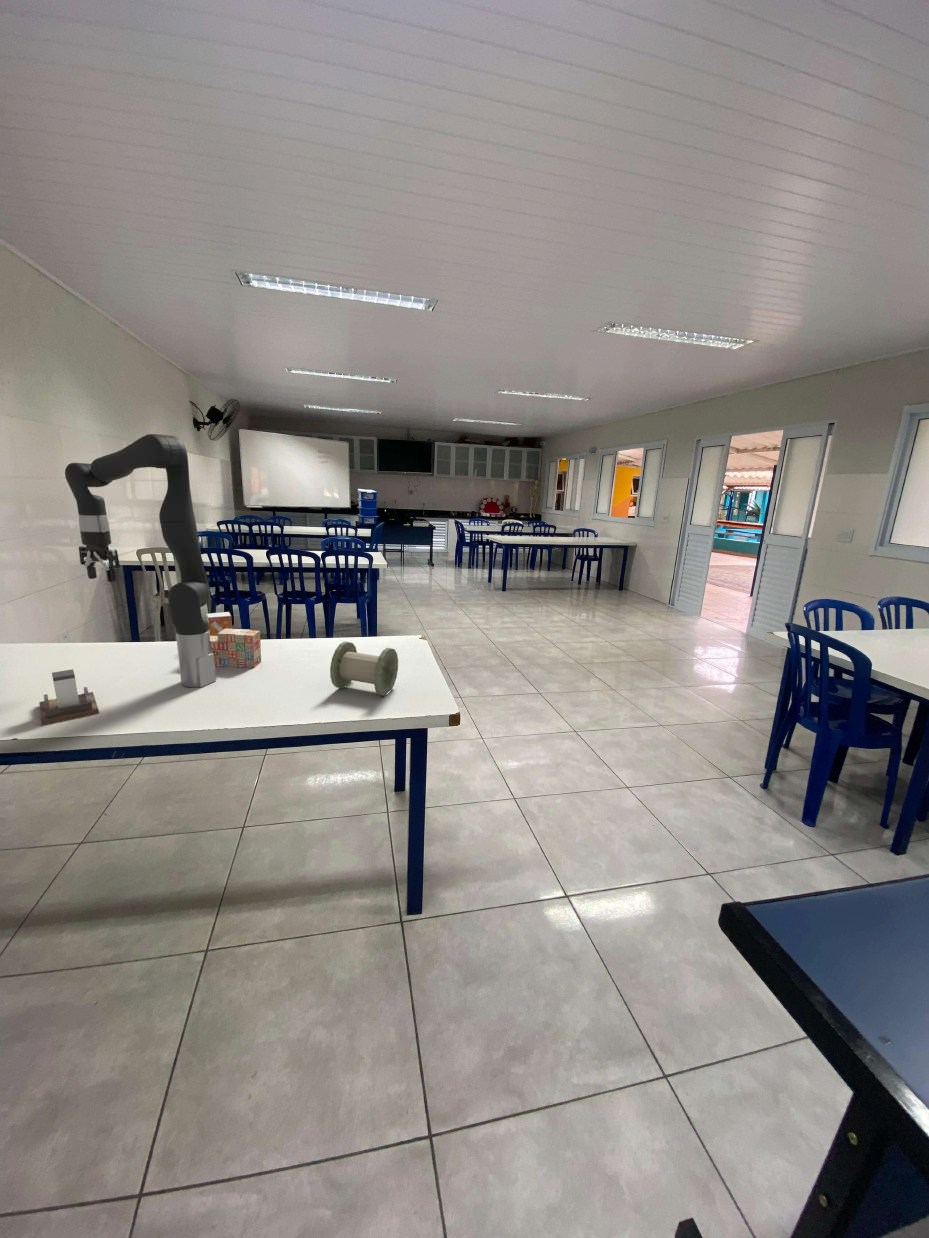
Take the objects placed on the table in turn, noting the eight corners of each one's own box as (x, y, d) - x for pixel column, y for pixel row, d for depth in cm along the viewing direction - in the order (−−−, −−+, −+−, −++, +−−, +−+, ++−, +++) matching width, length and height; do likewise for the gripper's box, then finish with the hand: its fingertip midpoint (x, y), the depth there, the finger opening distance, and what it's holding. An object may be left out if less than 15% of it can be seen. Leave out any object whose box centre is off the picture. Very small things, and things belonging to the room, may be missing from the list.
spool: (397, 685, 162) (398, 643, 159) (378, 703, 148) (378, 657, 145) (353, 677, 167) (353, 636, 163) (330, 694, 153) (329, 649, 149)
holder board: (98, 713, 133) (97, 702, 132) (41, 725, 125) (39, 714, 124) (93, 695, 143) (91, 685, 142) (40, 705, 135) (37, 695, 134)
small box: (210, 650, 185) (207, 617, 181) (208, 645, 190) (205, 613, 186) (233, 647, 189) (231, 615, 186) (231, 642, 194) (228, 611, 191)
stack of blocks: (193, 665, 170) (190, 631, 166) (203, 659, 176) (200, 626, 172) (254, 668, 170) (252, 635, 167) (262, 662, 176) (260, 629, 173)
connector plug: (78, 702, 135) (72, 669, 133) (80, 708, 132) (74, 674, 130) (57, 706, 133) (51, 672, 130) (59, 712, 129) (52, 677, 127)
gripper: (66, 528, 151) (74, 579, 155) (99, 532, 146) (106, 584, 151) (91, 527, 157) (98, 575, 162) (123, 530, 153) (129, 580, 158)
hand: (102, 580), depth 156 cm, fingers open, 8 cm apart
